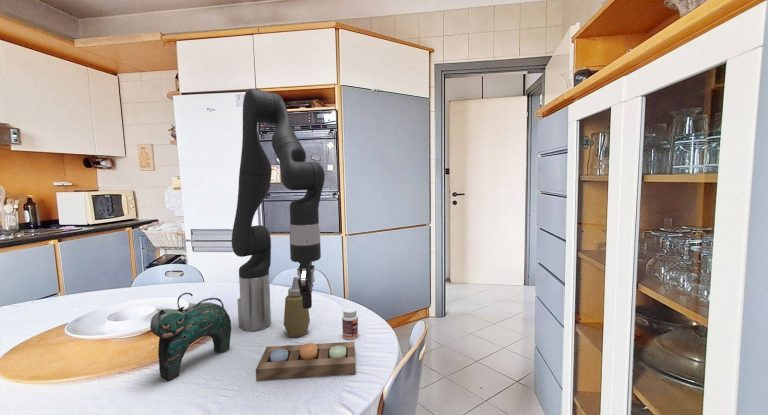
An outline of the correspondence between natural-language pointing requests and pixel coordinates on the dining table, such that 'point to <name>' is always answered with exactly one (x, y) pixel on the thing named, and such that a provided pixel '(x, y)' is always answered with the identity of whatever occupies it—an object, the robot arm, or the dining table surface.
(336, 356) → the sage green button
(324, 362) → the walnut button panel
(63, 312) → the dining table surface
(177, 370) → the ceramic cat
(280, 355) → the slate blue button
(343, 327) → the pill bottle
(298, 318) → the squeeze bottle
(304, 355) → the orange button
